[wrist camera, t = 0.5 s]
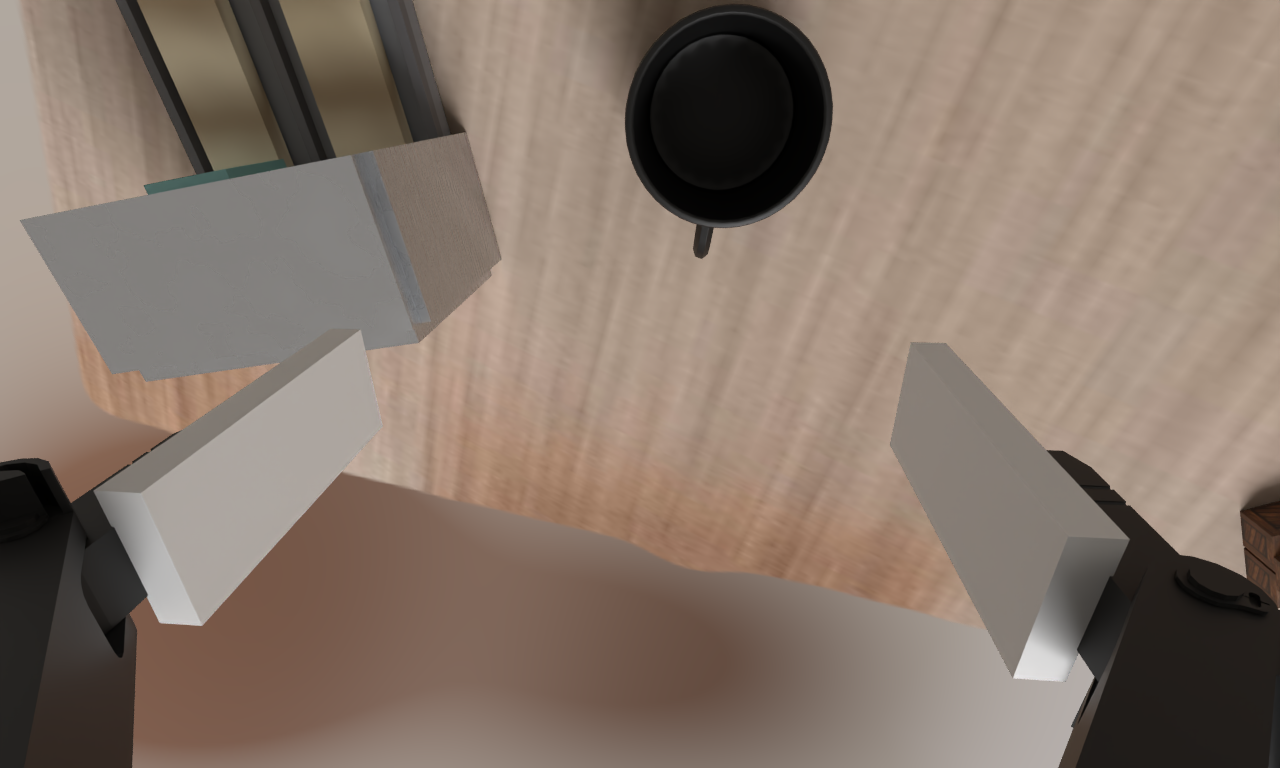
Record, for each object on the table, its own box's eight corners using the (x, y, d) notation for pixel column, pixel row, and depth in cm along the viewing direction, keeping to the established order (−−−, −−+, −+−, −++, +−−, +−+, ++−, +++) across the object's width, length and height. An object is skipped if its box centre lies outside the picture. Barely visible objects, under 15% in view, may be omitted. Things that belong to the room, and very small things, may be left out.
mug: (626, 227, 39) (607, 264, 31) (652, 11, 34) (638, -13, 26) (771, 249, 39) (790, 292, 31) (821, 36, 34) (860, 20, 26)
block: (210, 173, 37) (143, 185, 33) (283, 158, 36) (225, 168, 32) (246, 253, 39) (188, 275, 35) (316, 241, 38) (266, 261, 34)
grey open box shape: (216, 181, 40) (19, 220, 28) (466, 132, 37) (361, 152, 26) (275, 310, 44) (122, 390, 32) (505, 273, 41) (429, 347, 30)
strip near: (248, -119, 31) (64, -202, 22) (325, -140, 31) (168, -235, 22) (381, 251, 40) (287, 301, 31) (444, 241, 39) (367, 288, 30)
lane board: (77, -145, 33) (41, -159, 31) (346, -227, 30) (324, -247, 29) (269, 282, 43) (250, 290, 41) (483, 246, 40) (473, 254, 39)
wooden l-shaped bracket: (117, -82, 33) (-108, -147, 24) (188, -102, 32) (-16, -176, 23) (272, 270, 41) (150, 323, 32) (331, 260, 40) (224, 311, 31)
